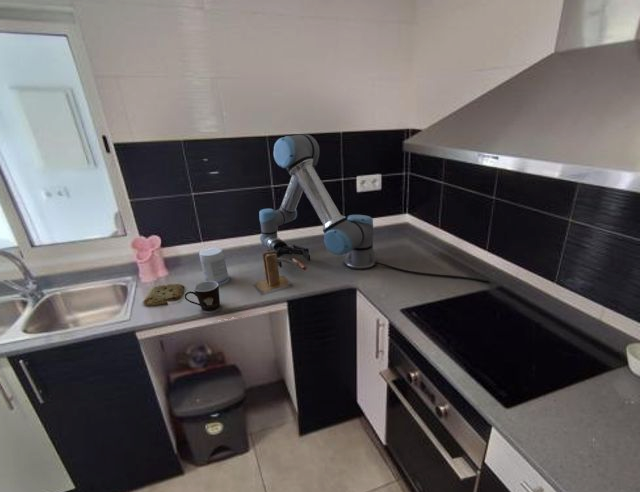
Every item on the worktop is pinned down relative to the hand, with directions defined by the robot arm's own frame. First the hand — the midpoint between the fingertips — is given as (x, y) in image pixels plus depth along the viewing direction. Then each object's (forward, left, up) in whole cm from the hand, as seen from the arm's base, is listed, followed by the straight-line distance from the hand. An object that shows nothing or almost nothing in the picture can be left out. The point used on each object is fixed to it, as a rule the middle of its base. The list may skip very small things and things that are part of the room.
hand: (295, 261), depth 167 cm
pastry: (+50, +20, -7) cm, 55 cm away
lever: (+4, +7, +2) cm, 8 cm away
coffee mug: (+29, +30, -7) cm, 43 cm away
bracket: (+8, +10, -7) cm, 15 cm away
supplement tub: (+33, +7, -7) cm, 35 cm away
